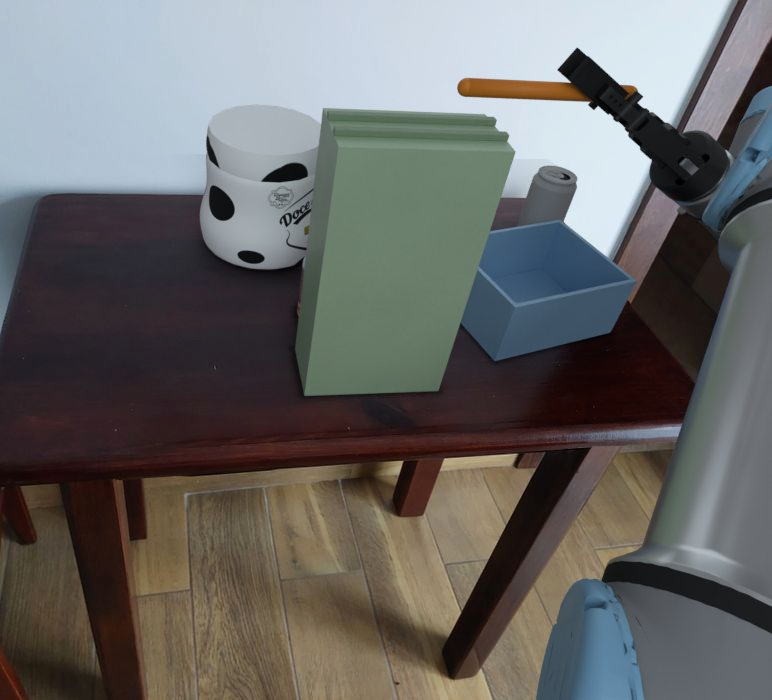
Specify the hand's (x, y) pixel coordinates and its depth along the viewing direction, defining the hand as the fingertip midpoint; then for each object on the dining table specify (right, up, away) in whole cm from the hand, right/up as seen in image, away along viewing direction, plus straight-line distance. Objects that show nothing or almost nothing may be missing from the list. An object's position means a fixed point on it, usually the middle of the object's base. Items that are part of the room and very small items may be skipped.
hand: (573, 64), depth 68 cm
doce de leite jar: (-34, -14, +30) cm, 47 cm away
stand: (-20, -31, +12) cm, 39 cm away
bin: (+2, -24, +24) cm, 34 cm away
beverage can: (+8, -12, +38) cm, 41 cm away
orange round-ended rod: (-2, -3, +2) cm, 4 cm away
